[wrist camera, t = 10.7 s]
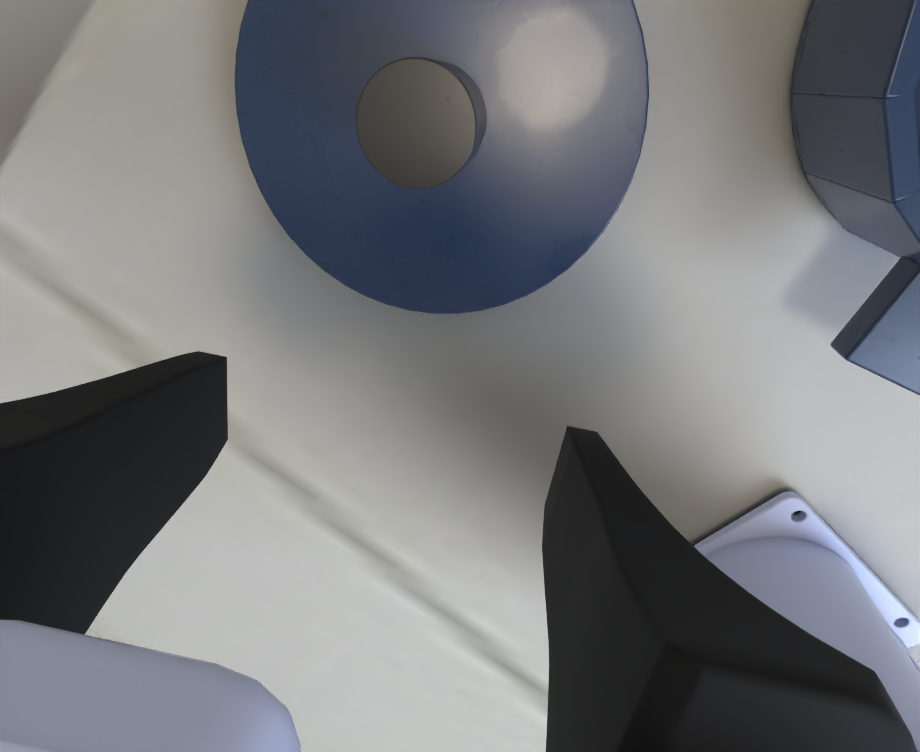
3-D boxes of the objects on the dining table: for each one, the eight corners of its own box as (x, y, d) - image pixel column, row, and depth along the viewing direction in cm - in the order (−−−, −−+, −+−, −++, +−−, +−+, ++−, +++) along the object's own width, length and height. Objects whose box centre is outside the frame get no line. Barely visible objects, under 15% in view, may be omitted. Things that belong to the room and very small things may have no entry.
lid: (729, -5, 16) (785, -30, 13) (528, 357, 22) (525, 415, 18) (315, -224, 15) (244, -322, 12) (211, 212, 21) (139, 242, 17)
